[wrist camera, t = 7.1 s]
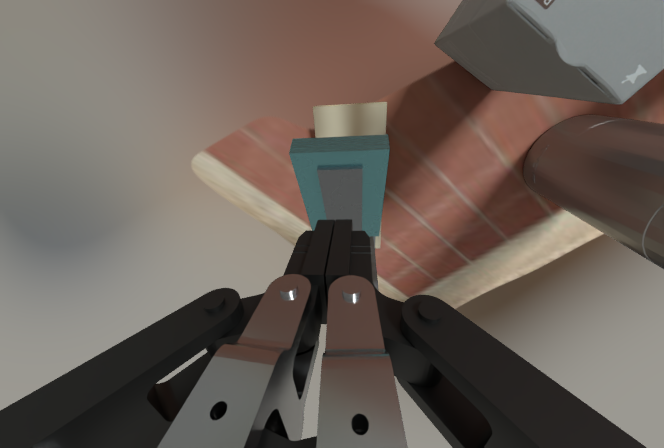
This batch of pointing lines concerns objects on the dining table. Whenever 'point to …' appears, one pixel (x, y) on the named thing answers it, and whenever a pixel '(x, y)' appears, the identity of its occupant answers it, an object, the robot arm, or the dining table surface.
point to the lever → (343, 178)
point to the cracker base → (353, 123)
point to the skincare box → (559, 46)
